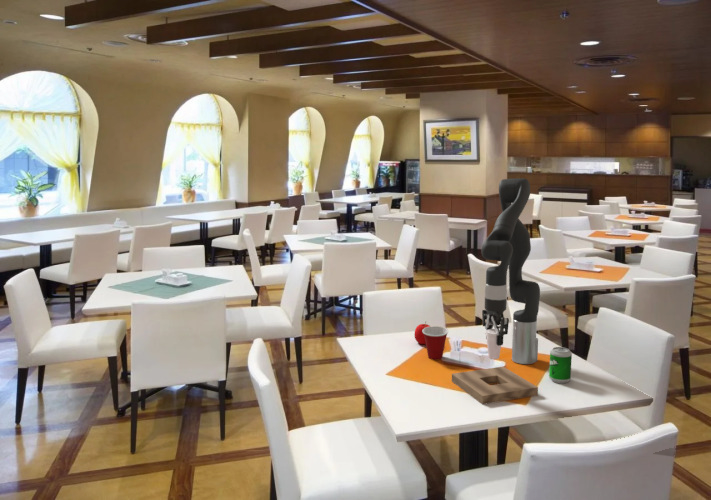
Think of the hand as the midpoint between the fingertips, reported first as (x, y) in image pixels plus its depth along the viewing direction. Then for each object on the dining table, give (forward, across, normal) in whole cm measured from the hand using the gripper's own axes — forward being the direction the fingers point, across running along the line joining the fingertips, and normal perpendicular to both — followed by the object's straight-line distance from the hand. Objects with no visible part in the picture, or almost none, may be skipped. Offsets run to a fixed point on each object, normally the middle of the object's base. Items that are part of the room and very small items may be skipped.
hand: (494, 342), depth 212 cm
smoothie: (+6, 0, 0) cm, 6 cm away
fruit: (+17, +56, +1) cm, 59 cm away
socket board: (+17, 0, 0) cm, 17 cm away
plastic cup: (+17, +37, +5) cm, 41 cm away
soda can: (+17, -2, -27) cm, 32 cm away
